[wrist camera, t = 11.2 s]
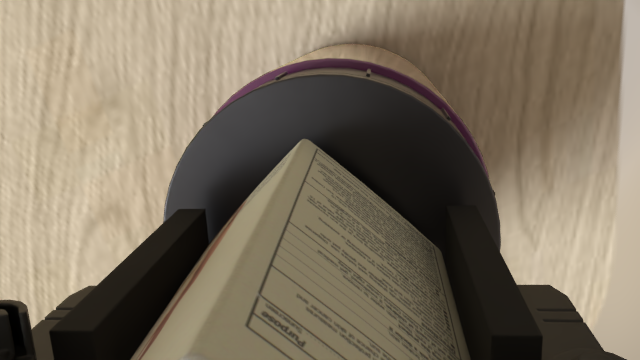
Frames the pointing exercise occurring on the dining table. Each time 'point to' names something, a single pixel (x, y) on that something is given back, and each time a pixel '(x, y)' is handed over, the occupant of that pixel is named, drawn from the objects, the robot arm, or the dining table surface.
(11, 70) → the dining table surface
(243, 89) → the jar
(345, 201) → the cardboard box
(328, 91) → the jar lid
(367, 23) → the dining table surface
